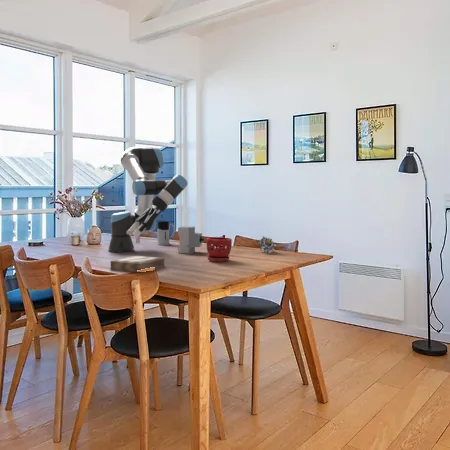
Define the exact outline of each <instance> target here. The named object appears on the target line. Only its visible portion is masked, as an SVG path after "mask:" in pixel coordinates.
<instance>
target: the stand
mask: <svg viewBox="0 0 450 450" xmlns="http://www.w3.org/2000/svg"><path fill="white" fill-rule="evenodd" d="M150 267H155V268H156V269H160V268H164V267H165V258H164V257H154V256H141V255H132V256H127V257H122V258H118V259H114V260H113V259H112V260H110V270H115V271H124V272H131V271H137V270H141V269H145V268H150ZM156 269H155V270H156Z"/></svg>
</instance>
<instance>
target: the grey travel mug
mask: <svg viewBox="0 0 450 450" xmlns="http://www.w3.org/2000/svg"><path fill="white" fill-rule="evenodd" d="M171 226H172V227H173V229H172V230H173V231H172V234H171V236H170V230H171ZM156 227H157V230H156V231H157V242H156V245H157V246H168V245H171V244H170V239H172V237H173V236H174V234H175V225H174V224H171V223H170V222H169V221H157V225H156Z"/></svg>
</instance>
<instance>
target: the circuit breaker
mask: <svg viewBox="0 0 450 450" xmlns="http://www.w3.org/2000/svg"><path fill="white" fill-rule="evenodd" d="M177 228H178V229H177V235H178V236H179V244H178V245H177V251H178V252H177V253H178V254H193V253H195V252H196V248H199V247H202V246H203V241H205V240H204V239H205V238H204V237H203V232H196V227H195V226H188V225H187V226H185V225H184V226H182V225H181V226H179V227H177Z"/></svg>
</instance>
